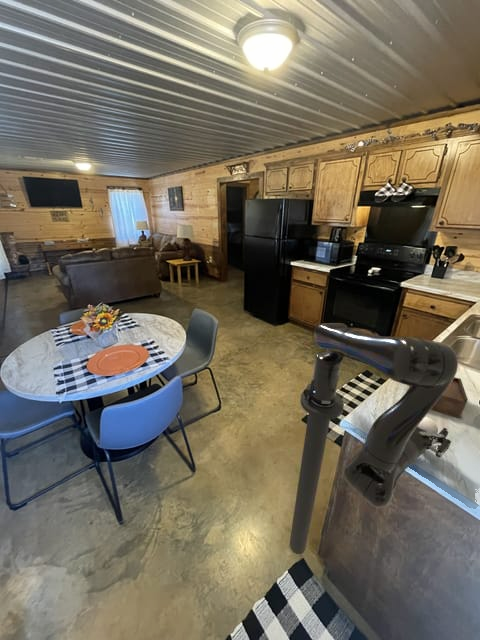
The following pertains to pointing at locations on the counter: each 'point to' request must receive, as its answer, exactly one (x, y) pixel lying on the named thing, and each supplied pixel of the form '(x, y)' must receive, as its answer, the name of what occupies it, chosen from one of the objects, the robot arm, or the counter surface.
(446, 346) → the robot arm
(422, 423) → the lightbulb
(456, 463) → the counter surface
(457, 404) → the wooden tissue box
